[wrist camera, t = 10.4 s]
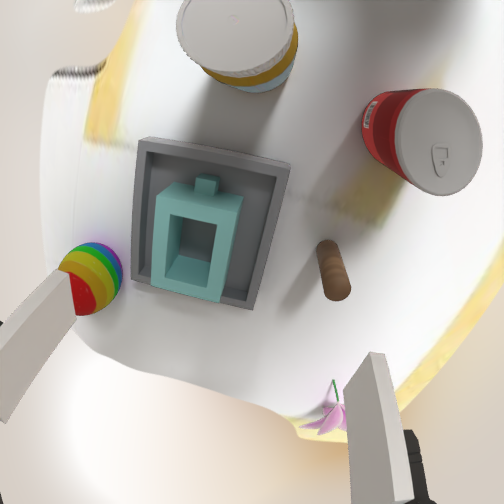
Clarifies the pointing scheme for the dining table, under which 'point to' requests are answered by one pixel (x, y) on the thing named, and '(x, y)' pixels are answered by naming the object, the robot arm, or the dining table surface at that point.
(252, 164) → the tray
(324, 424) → the lily
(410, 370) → the dining table surface
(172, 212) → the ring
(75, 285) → the decorative egg
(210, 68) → the bottle
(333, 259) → the post
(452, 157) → the canned food
